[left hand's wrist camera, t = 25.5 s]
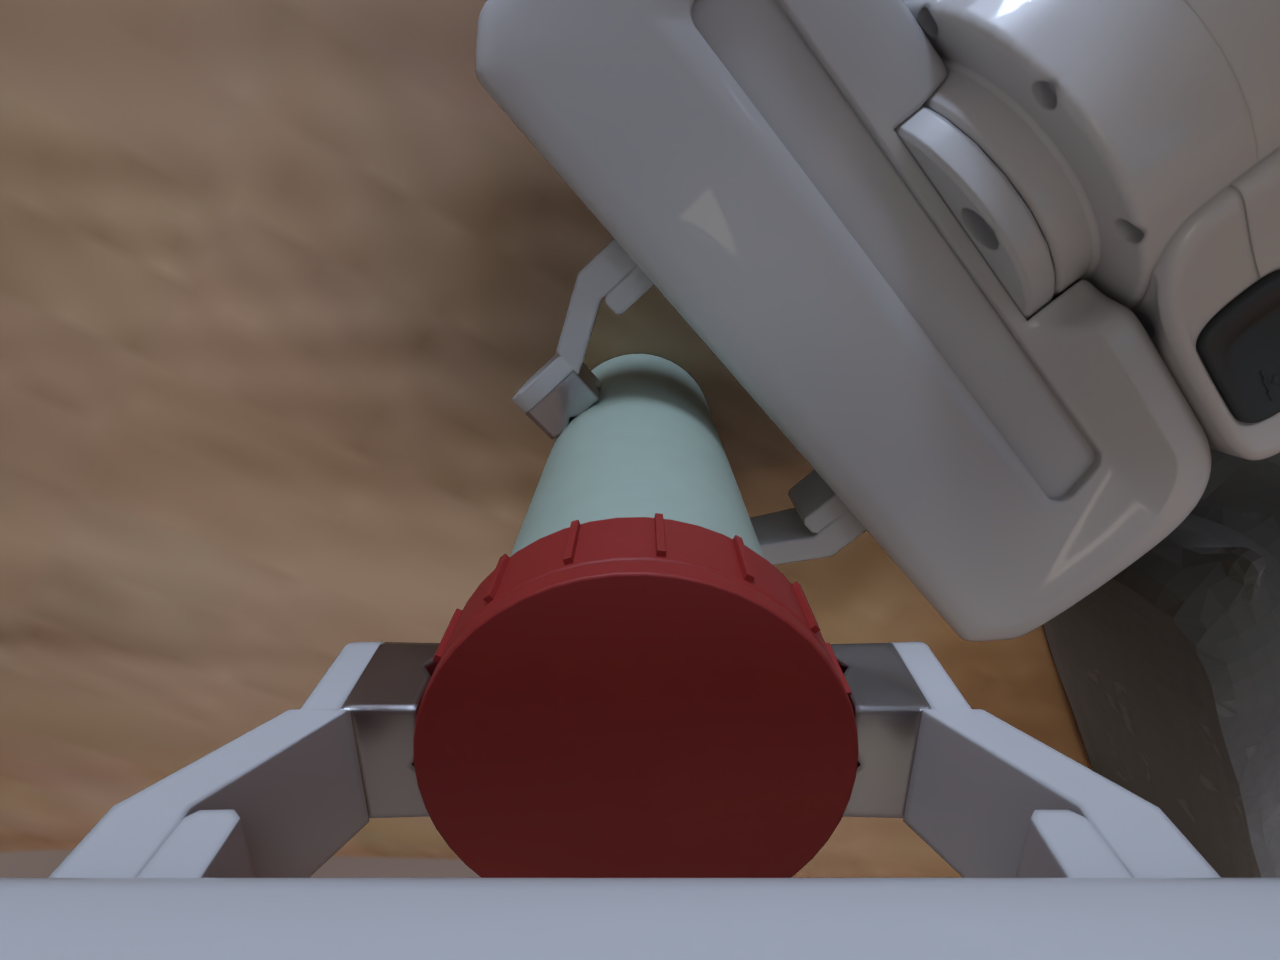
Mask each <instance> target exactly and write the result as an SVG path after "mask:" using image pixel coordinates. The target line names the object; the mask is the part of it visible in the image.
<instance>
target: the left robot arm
mask: <svg viewBox="0 0 1280 960" xmlns="http://www.w3.org/2000/svg"><path fill="white" fill-rule="evenodd" d="M439 645H440V643H404V642H385V643H383V642H352V643H349V644H347V645H346V646H345V647H344V648H343V649H342V651H341V652H340V654H339V655H338V656H337V658H336V659H335V661H334V662H333V663H332V665H331V666H330V668H329V669H328V671H327V672H326V673H325V675H324V676H323V678H322V679H321V680H320V682H319V683H318V685H317V686H316V687H315V689H314V690H313V692H312V693H311V695H310V696H309V697H308V699H307V700H306V702H305V703H304V704H303V706H302V707H301V709H290V710H288V711H286V712H284V713H282V714H280V715H279V716H277V717H275V718H273V719H271V720H269V721H268V722H266V723H264V724H262V725H260V726H259V727H257V728H255V729H253V730H251V731H249V732H248V733H246V734H244V735H242V736H240V737H239V738H237V739H235V740H233V741H231V742H229V743H228V744H226V745H224V746H222V747H220V748H218V749H217V750H215V751H213V752H211V753H209V754H208V755H206V756H204V757H202V758H200V759H198V760H197V761H195V762H193V763H191V764H189V765H188V766H186V767H184V768H182V769H180V770H178V771H177V772H175V773H173V774H171V775H169V776H168V777H166V778H164V779H162V780H160V781H158V782H157V783H155V784H153V785H151V786H149V787H147V788H146V789H144V790H142V791H140V792H138V793H137V794H135V795H133V796H131V797H129V798H127V799H126V800H124V801H122V802H120V803H118V804H117V805H115V806H113V807H112V808H111V809H110V810H109V811H108V812H107V813H106V814H105V816H104V817H103V818H102V819H101V820H100V821H99V822H98V823H97V824H96V825H95V827H94V828H93V829H92V830H91V831H90V832H89V833H88V834H87V835H86V836H85V838H84V839H83V840H82V841H81V842H80V843H79V844H78V845H77V846H76V847H75V848H74V850H73V851H72V852H71V853H70V854H69V855H68V856H67V857H66V858H65V859H64V861H63V862H62V863H61V864H60V865H59V866H58V867H57V868H56V869H55V870H54V872H53V873H52V874H51V875H50V876H49V877H48V878H0V960H1280V878H1221V877H1220V876H1219V875H1218V873H1217V872H1216V871H1215V870H1214V869H1213V868H1212V867H1211V866H1210V864H1209V863H1208V862H1207V861H1206V860H1205V859H1204V858H1203V857H1202V855H1201V854H1200V853H1199V852H1198V851H1197V850H1196V849H1195V848H1194V846H1193V845H1192V844H1191V843H1190V842H1189V841H1188V840H1187V839H1186V837H1185V836H1184V835H1183V834H1182V833H1181V832H1180V831H1179V829H1178V828H1177V827H1176V826H1175V825H1174V824H1173V823H1172V822H1171V820H1170V819H1169V818H1168V817H1167V816H1166V815H1165V814H1164V813H1163V811H1162V810H1161V809H1160V808H1159V807H1157V806H1155V805H1153V804H1152V803H1150V802H1148V801H1146V800H1144V799H1143V798H1141V797H1139V796H1137V795H1135V794H1134V793H1132V792H1130V791H1128V790H1126V789H1125V788H1123V787H1121V786H1119V785H1117V784H1116V783H1114V782H1112V781H1110V780H1108V779H1107V778H1105V777H1103V776H1101V775H1099V774H1098V773H1096V772H1094V771H1092V770H1090V769H1089V768H1087V767H1085V766H1083V765H1081V764H1080V763H1078V762H1076V761H1074V760H1072V759H1071V758H1069V757H1067V756H1065V755H1064V754H1062V753H1060V752H1058V751H1056V750H1055V749H1053V748H1051V747H1049V746H1047V745H1046V744H1044V743H1042V742H1040V741H1038V740H1037V739H1035V738H1033V737H1031V736H1029V735H1028V734H1026V733H1024V732H1022V731H1020V730H1019V729H1017V728H1015V727H1013V726H1011V725H1010V724H1008V723H1006V722H1004V721H1002V720H1001V719H999V718H997V717H995V716H993V715H992V714H990V713H988V712H986V711H984V710H983V709H972V708H971V707H970V706H969V704H968V703H967V701H966V700H965V698H964V697H963V696H962V694H961V693H960V691H959V690H958V688H957V687H956V686H955V684H954V683H953V681H952V680H951V678H950V677H949V675H948V674H947V673H946V671H945V670H944V668H943V667H942V665H941V664H940V663H939V661H938V660H937V658H936V657H935V655H934V654H933V653H932V651H931V650H930V648H929V647H928V645H927V644H925V643H923V642H921V641H920V642H892V643H869V644H830V646H831V648H832V650H833V652H834V654H835V657H836V659H837V661H838V663H839V666H840V668H841V670H842V672H843V674H844V677H845V679H846V681H847V683H848V685H849V688H850V690H851V693H849V699H850V702H851V704H852V708H853V712H854V717H855V721H856V725H857V732H858V749H859V754H858V764H857V773H856V779H855V782H854V786H853V790H852V793H851V797H850V800H849V802H848V805H847V807H846V809H845V811H844V814H843V816H849V817H885V818H904V819H903V821H904V822H905V823H906V824H907V825H908V826H909V827H910V828H911V829H912V830H913V831H914V832H916V833H917V834H918V835H919V836H920V837H921V838H922V839H923V840H924V841H925V842H926V843H927V844H928V845H929V846H930V847H931V848H932V849H934V850H935V851H936V852H937V853H938V854H939V855H940V856H941V857H942V858H943V859H944V860H945V861H946V862H947V863H948V864H949V865H950V866H951V867H953V868H954V869H955V870H956V871H957V872H958V873H959V874H960V875H961V876H962V877H963V878H309V877H310V876H311V875H312V874H313V873H315V872H316V871H317V870H318V869H319V868H320V867H321V866H322V865H323V864H324V863H325V862H326V861H327V860H328V859H330V858H331V857H332V856H333V855H334V854H335V853H336V852H337V851H338V850H339V849H340V848H341V847H342V846H343V845H345V844H346V843H347V842H348V841H349V840H350V839H351V838H352V837H353V836H354V835H355V834H356V833H357V832H358V831H360V830H361V829H362V828H363V827H364V826H365V825H366V824H367V823H368V822H369V818H387V817H421V816H429V814H428V812H427V810H426V808H425V805H424V802H423V799H422V797H421V794H420V791H419V788H418V784H417V778H416V773H415V767H414V751H413V737H414V731H415V725H416V718H417V713H418V710H419V707H420V704H421V701H422V698H423V695H424V692H425V690H426V688H427V685H428V683H429V681H430V679H431V677H432V675H433V673H434V670H435V668H436V666H437V664H438V663H437V662H435V661H433V660H432V659H433V657H434V655H435V653H436V651H437V649H438V647H439Z"/></svg>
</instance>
